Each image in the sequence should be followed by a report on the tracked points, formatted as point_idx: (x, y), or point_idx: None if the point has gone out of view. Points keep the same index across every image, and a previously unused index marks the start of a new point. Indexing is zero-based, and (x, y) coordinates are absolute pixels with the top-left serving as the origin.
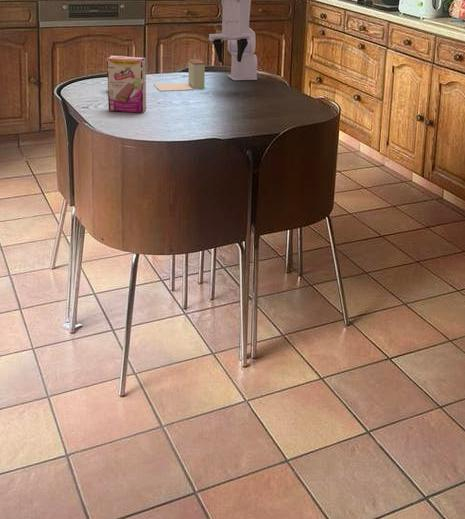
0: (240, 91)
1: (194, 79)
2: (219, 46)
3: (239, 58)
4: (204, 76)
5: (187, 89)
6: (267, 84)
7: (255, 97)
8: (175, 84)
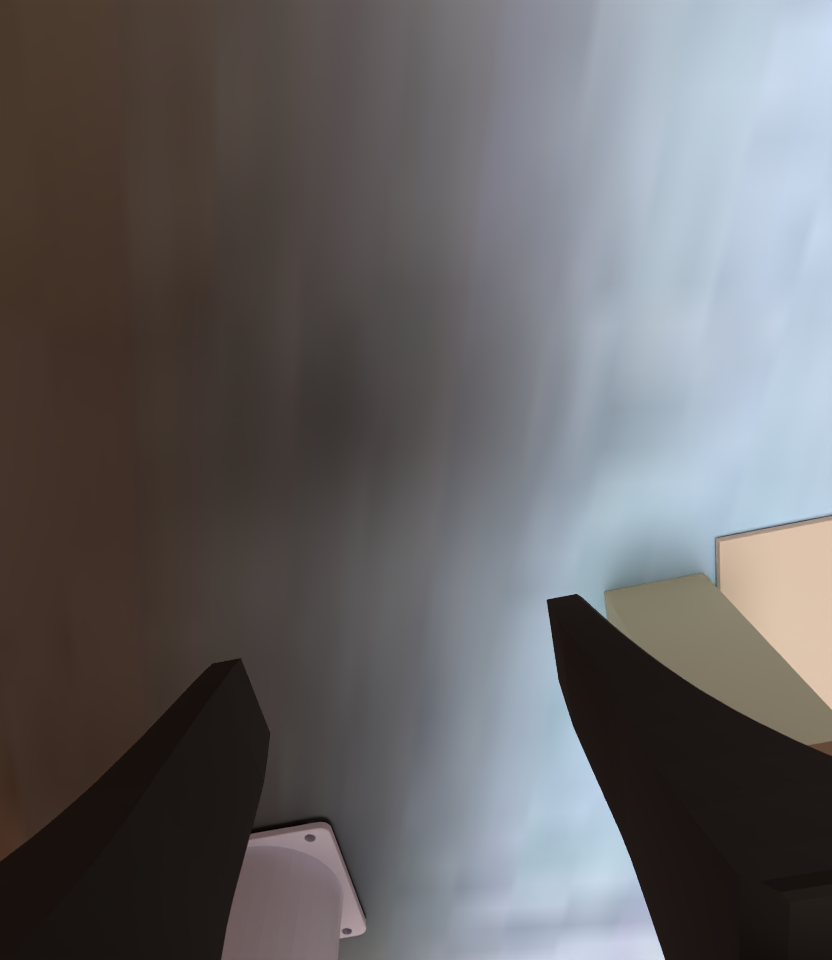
0: (287, 507)
1: (741, 623)
2: (807, 786)
3: (216, 691)
4: None
5: (773, 531)
6: (50, 740)
7: (133, 265)
8: (826, 683)
